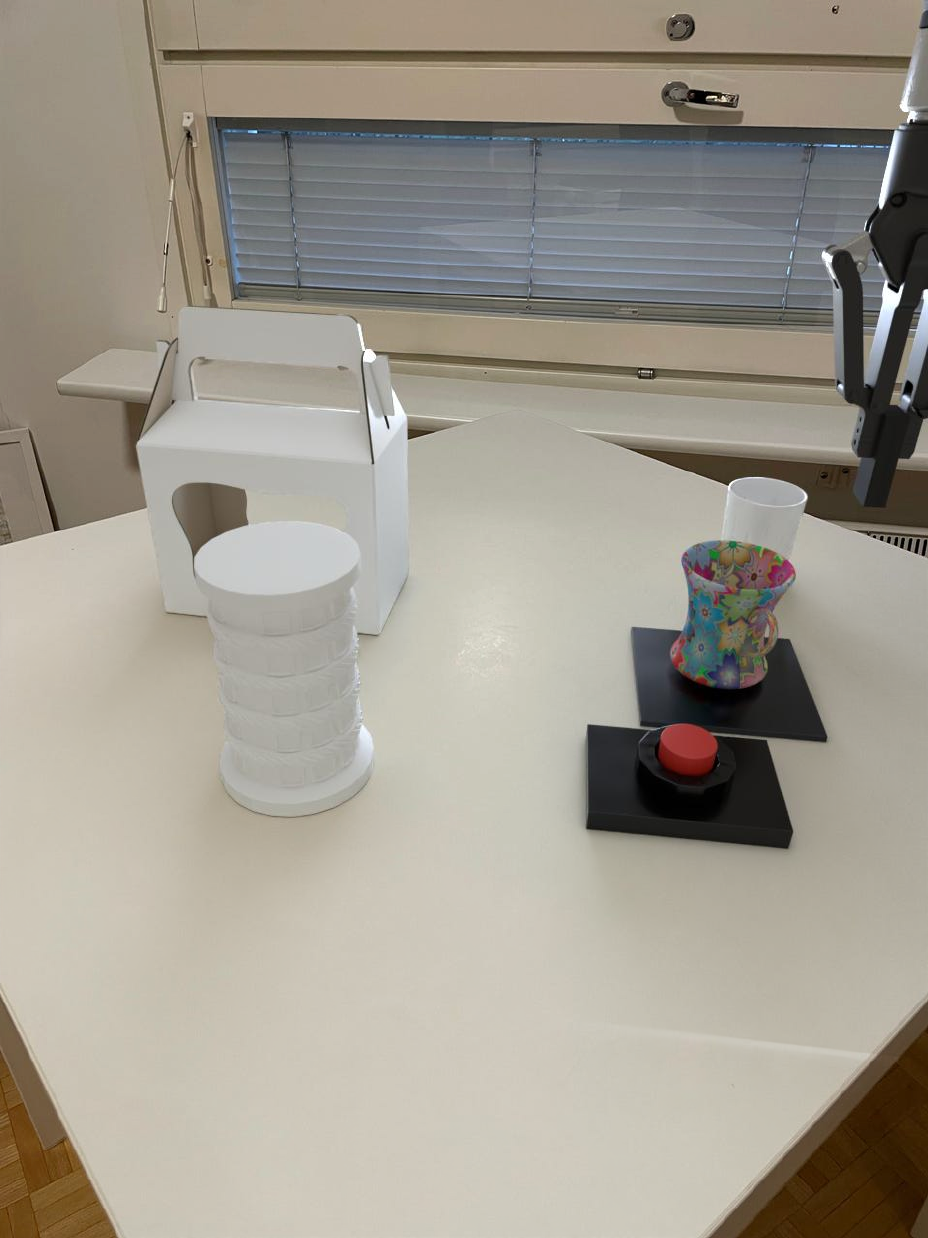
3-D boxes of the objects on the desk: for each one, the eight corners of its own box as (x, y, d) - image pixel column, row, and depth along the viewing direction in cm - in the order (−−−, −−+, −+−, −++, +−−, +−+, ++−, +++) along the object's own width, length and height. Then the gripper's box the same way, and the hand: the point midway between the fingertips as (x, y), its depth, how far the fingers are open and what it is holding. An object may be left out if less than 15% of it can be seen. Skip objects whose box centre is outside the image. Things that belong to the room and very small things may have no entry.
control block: (762, 756, 69) (771, 721, 67) (788, 849, 61) (799, 812, 59) (585, 740, 70) (589, 705, 68) (586, 829, 62) (590, 792, 60)
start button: (709, 744, 65) (713, 726, 64) (717, 780, 62) (721, 761, 61) (655, 739, 66) (659, 721, 65) (660, 775, 62) (663, 756, 61)
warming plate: (788, 643, 83) (790, 638, 83) (826, 742, 71) (828, 736, 70) (630, 631, 85) (631, 626, 84) (639, 726, 72) (640, 720, 72)
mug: (648, 645, 82) (664, 543, 76) (740, 636, 83) (762, 536, 78) (702, 723, 71) (725, 612, 66) (805, 712, 73) (836, 603, 68)
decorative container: (400, 741, 70) (396, 537, 60) (322, 837, 60) (304, 614, 51) (278, 703, 74) (257, 507, 64) (188, 788, 64) (148, 573, 55)
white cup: (761, 601, 90) (781, 513, 85) (698, 574, 95) (713, 488, 90) (801, 579, 95) (822, 493, 90) (739, 553, 100) (755, 471, 95)
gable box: (411, 572, 94) (409, 302, 80) (382, 636, 83) (372, 336, 68) (216, 553, 97) (179, 289, 83) (162, 613, 86) (108, 319, 71)
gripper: (870, 120, 47) (786, 517, 60) (1124, 121, 46) (985, 526, 58) (834, 116, 54) (765, 476, 66) (1057, 117, 53) (944, 483, 65)
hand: (868, 499), depth 62 cm, fingers closed
